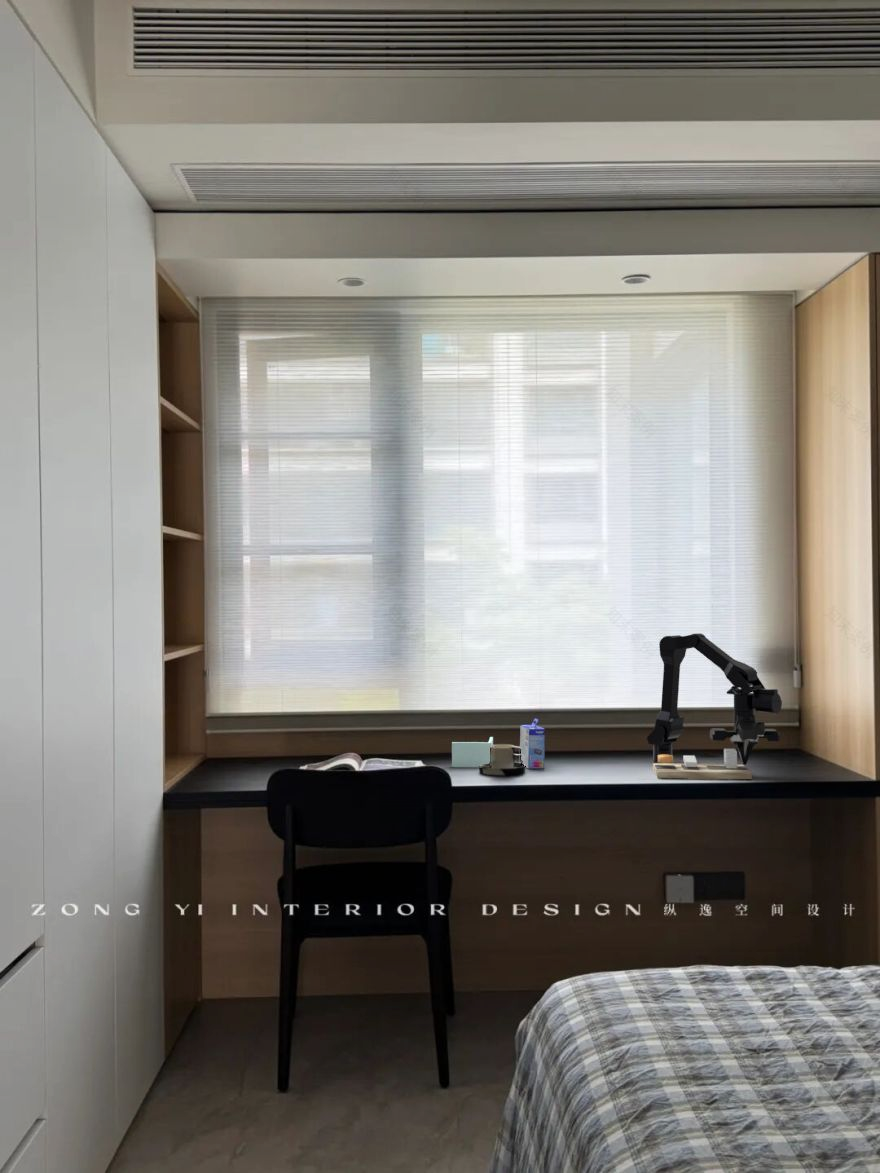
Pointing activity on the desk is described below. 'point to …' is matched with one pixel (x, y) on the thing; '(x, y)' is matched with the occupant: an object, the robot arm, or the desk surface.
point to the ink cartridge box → (532, 745)
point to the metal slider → (730, 758)
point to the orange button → (665, 758)
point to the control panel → (701, 771)
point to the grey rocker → (690, 761)
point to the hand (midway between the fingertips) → (744, 764)
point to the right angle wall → (471, 753)
